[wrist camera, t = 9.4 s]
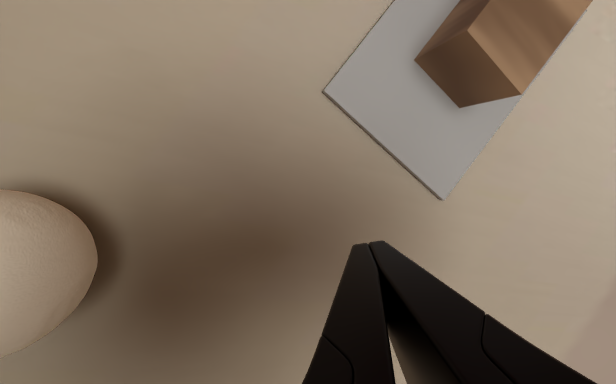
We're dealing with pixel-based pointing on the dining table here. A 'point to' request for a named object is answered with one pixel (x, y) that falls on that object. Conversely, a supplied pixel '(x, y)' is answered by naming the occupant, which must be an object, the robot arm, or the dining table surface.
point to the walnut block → (496, 46)
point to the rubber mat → (415, 98)
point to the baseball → (40, 267)
